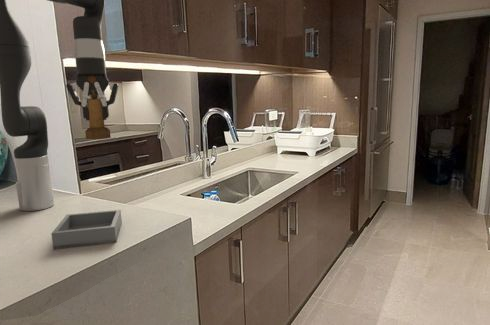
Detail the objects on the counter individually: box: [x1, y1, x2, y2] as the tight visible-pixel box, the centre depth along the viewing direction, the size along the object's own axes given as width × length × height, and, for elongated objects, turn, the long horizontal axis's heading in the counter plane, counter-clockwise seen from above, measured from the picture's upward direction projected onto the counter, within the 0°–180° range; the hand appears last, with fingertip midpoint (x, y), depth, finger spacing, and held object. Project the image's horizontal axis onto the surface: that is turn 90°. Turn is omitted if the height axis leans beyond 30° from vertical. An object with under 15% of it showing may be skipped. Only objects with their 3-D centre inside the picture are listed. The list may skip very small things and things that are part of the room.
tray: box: [51, 209, 123, 250], centre depth 89 cm, size 14×14×4 cm
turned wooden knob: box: [84, 76, 111, 140], centre depth 97 cm, size 7×6×18 cm
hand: (96, 119), depth 98 cm, fingers closed on turned wooden knob, 4 cm apart
